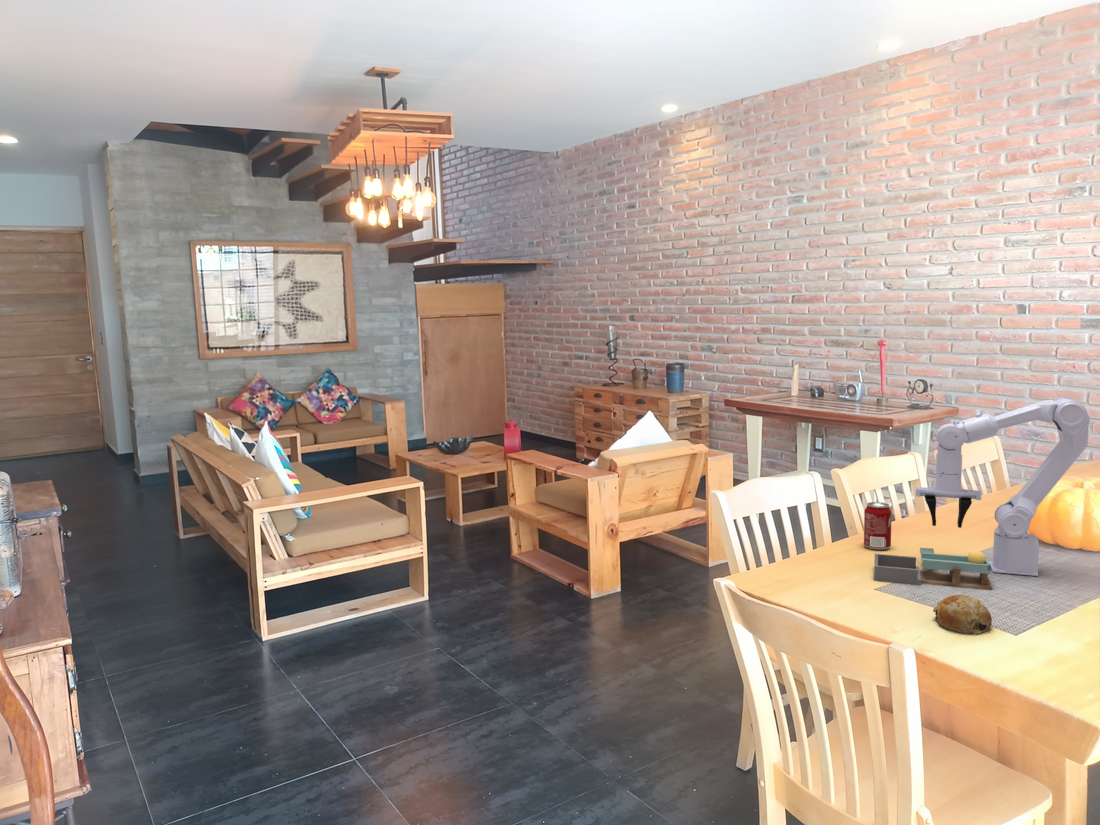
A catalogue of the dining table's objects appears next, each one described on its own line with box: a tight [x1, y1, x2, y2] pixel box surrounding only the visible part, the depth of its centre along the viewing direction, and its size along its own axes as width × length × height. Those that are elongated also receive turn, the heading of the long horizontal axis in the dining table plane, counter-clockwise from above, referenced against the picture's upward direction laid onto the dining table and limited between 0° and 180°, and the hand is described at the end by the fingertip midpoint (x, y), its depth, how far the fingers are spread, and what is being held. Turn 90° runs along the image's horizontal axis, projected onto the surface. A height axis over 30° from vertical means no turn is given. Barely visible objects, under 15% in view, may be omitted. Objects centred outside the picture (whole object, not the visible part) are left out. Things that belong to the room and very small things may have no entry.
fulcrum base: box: [920, 568, 993, 591], centre depth 185 cm, size 15×8×4 cm, turn 67°
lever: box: [919, 547, 992, 575], centre depth 189 cm, size 14×14×2 cm
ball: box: [967, 549, 986, 564], centre depth 183 cm, size 4×4×4 cm
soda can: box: [863, 501, 893, 551], centre depth 213 cm, size 7×7×12 cm
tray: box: [873, 553, 922, 586], centre depth 190 cm, size 10×11×4 cm
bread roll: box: [932, 594, 993, 635], centre depth 160 cm, size 10×10×8 cm
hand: (946, 525), depth 197 cm, fingers open, 5 cm apart
